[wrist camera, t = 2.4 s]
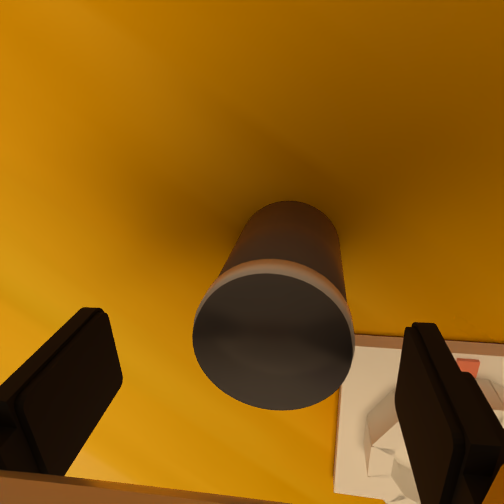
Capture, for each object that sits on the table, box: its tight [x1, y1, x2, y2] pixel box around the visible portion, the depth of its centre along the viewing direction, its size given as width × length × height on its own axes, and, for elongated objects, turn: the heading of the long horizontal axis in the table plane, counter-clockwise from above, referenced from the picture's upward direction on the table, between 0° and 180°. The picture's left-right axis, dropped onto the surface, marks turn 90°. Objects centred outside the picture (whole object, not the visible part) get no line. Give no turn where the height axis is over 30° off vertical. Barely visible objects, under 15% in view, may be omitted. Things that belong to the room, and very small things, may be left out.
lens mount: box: [333, 334, 504, 504], centre depth 20 cm, size 12×12×3 cm
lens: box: [192, 201, 355, 410], centre depth 15 cm, size 5×5×8 cm
